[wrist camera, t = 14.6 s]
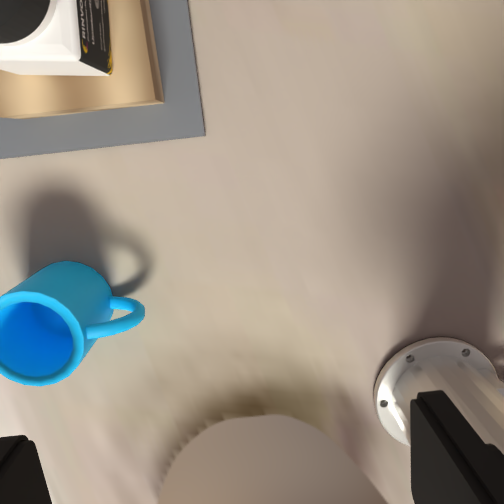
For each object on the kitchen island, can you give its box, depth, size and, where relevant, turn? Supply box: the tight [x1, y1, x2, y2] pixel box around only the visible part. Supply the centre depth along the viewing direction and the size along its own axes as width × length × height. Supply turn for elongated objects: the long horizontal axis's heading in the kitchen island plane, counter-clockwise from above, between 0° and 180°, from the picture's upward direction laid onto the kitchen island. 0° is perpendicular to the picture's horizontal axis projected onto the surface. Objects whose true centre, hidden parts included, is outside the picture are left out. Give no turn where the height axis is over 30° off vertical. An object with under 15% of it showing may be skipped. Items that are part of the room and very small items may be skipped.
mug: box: [0, 261, 145, 386], centre depth 38 cm, size 12×8×8 cm
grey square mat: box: [0, 0, 205, 159], centre depth 35 cm, size 18×18×1 cm
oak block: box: [0, 0, 165, 119], centre depth 33 cm, size 12×12×4 cm
